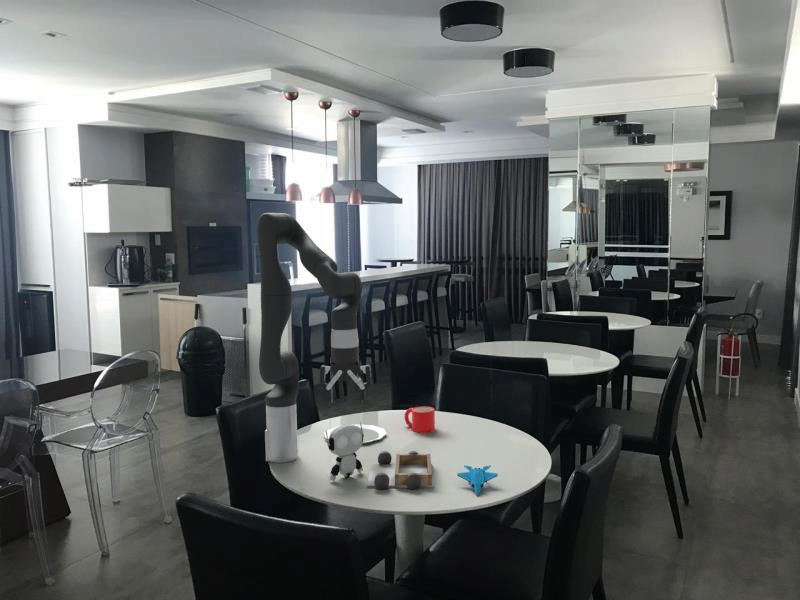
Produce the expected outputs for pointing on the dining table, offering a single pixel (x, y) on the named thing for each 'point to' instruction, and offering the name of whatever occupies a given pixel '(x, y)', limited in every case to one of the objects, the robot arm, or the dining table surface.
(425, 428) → the mug
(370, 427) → the plate
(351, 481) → the dining table surface
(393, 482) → the chassis
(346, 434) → the robot toy
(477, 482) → the toy airplane
